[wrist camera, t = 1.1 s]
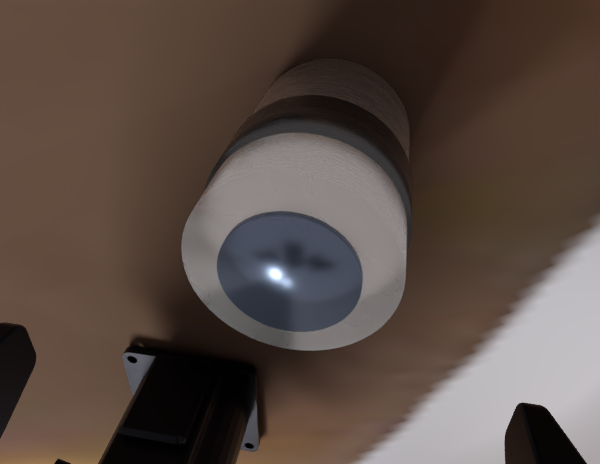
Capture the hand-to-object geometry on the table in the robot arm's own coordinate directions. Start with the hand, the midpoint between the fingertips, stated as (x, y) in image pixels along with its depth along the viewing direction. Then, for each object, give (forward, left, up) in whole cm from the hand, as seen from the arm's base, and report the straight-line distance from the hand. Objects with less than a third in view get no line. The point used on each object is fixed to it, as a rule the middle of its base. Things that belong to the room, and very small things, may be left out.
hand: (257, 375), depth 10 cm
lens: (0, 0, -10) cm, 10 cm away
